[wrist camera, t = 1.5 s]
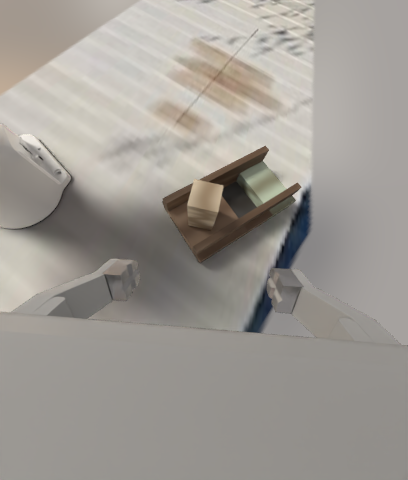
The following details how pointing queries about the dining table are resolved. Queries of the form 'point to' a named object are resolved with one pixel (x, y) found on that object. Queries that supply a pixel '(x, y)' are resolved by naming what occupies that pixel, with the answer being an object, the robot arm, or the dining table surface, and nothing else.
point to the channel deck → (233, 204)
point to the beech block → (204, 204)
